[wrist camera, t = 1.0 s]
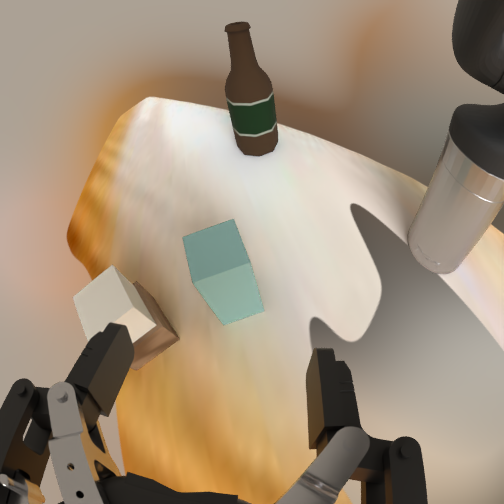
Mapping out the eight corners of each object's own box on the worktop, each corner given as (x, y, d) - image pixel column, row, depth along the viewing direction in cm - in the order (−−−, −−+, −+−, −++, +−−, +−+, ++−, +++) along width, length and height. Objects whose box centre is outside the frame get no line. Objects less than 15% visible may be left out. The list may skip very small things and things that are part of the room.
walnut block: (154, 298, 35) (136, 281, 30) (180, 339, 31) (162, 326, 27) (115, 328, 33) (94, 314, 29) (137, 370, 29) (114, 361, 25)
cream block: (134, 286, 30) (112, 264, 26) (156, 325, 27) (133, 306, 23) (98, 315, 29) (72, 297, 24) (116, 355, 26) (88, 342, 21)
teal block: (250, 275, 34) (233, 218, 25) (264, 310, 32) (250, 262, 22) (212, 289, 34) (182, 237, 25) (223, 325, 31) (192, 282, 22)
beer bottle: (229, 149, 50) (199, 30, 30) (256, 130, 52) (236, 19, 32) (260, 162, 46) (236, 28, 26) (287, 141, 49) (274, 18, 29)
